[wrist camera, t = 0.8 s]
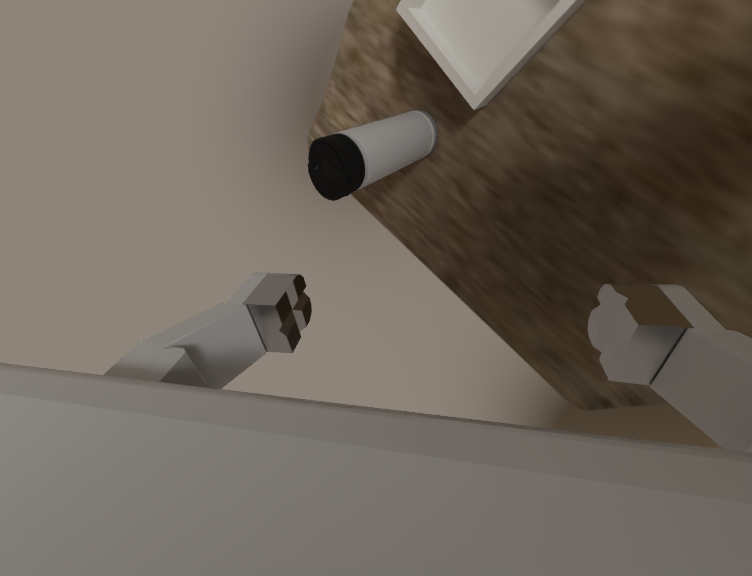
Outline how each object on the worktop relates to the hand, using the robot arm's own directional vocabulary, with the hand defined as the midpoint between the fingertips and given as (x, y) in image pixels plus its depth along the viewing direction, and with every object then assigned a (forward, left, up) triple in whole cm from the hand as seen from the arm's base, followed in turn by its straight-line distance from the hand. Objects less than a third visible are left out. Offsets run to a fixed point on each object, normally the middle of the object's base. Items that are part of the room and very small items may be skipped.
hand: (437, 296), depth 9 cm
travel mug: (+17, -13, -37) cm, 43 cm away
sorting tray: (+1, -16, -37) cm, 40 cm away
